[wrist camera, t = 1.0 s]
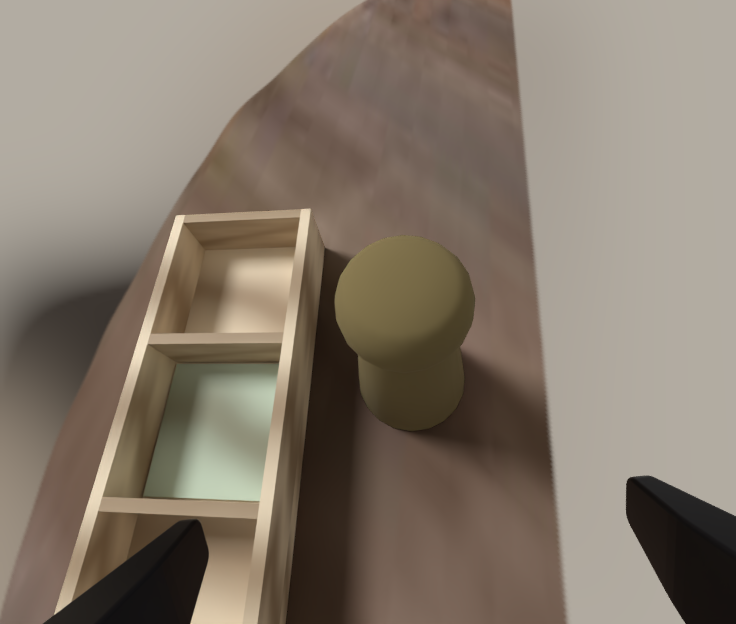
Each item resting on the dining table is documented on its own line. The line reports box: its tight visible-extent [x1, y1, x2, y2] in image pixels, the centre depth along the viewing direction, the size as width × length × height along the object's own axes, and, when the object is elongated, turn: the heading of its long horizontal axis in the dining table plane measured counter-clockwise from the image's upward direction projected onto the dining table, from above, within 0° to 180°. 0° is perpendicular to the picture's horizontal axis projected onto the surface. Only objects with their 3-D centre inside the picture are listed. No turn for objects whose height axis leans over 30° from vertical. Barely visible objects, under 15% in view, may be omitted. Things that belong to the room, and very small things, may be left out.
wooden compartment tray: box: [54, 209, 325, 624], centre depth 22 cm, size 25×9×4 cm, turn 178°
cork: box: [335, 235, 475, 431], centre depth 19 cm, size 6×6×11 cm
